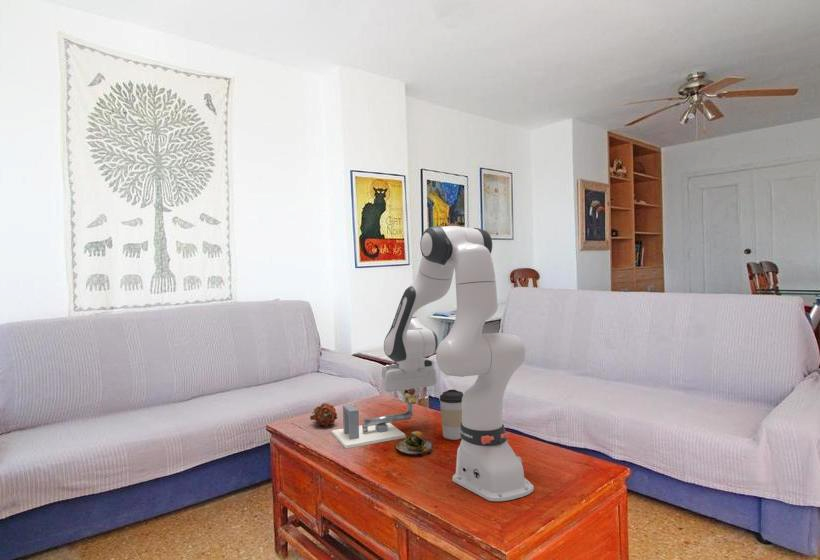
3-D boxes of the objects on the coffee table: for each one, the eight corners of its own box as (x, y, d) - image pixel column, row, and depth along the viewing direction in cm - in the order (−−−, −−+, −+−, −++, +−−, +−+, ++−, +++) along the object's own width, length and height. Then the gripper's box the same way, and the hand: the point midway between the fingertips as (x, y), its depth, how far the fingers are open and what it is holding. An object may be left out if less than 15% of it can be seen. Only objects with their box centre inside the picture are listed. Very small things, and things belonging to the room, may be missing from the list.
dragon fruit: (331, 434, 174) (316, 430, 184) (347, 416, 179) (331, 413, 188) (316, 417, 172) (302, 414, 181) (333, 399, 176) (318, 397, 186)
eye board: (387, 423, 180) (387, 395, 179) (405, 437, 165) (405, 407, 165) (331, 433, 171) (331, 403, 170) (345, 448, 156) (344, 416, 156)
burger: (391, 446, 158) (390, 423, 158) (425, 441, 162) (425, 419, 162) (402, 460, 147) (401, 436, 147) (438, 455, 151) (438, 431, 150)
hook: (409, 420, 178) (409, 392, 178) (416, 425, 172) (416, 396, 172) (359, 429, 170) (359, 399, 169) (365, 434, 164) (364, 404, 164)
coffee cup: (468, 440, 161) (467, 395, 161) (440, 440, 162) (439, 395, 161) (465, 431, 170) (465, 388, 170) (439, 431, 171) (438, 388, 170)
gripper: (385, 367, 167) (386, 407, 167) (438, 360, 175) (439, 399, 176) (378, 363, 172) (379, 402, 173) (430, 357, 181) (430, 395, 181)
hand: (409, 401), depth 174 cm, fingers closed on hook, 2 cm apart
